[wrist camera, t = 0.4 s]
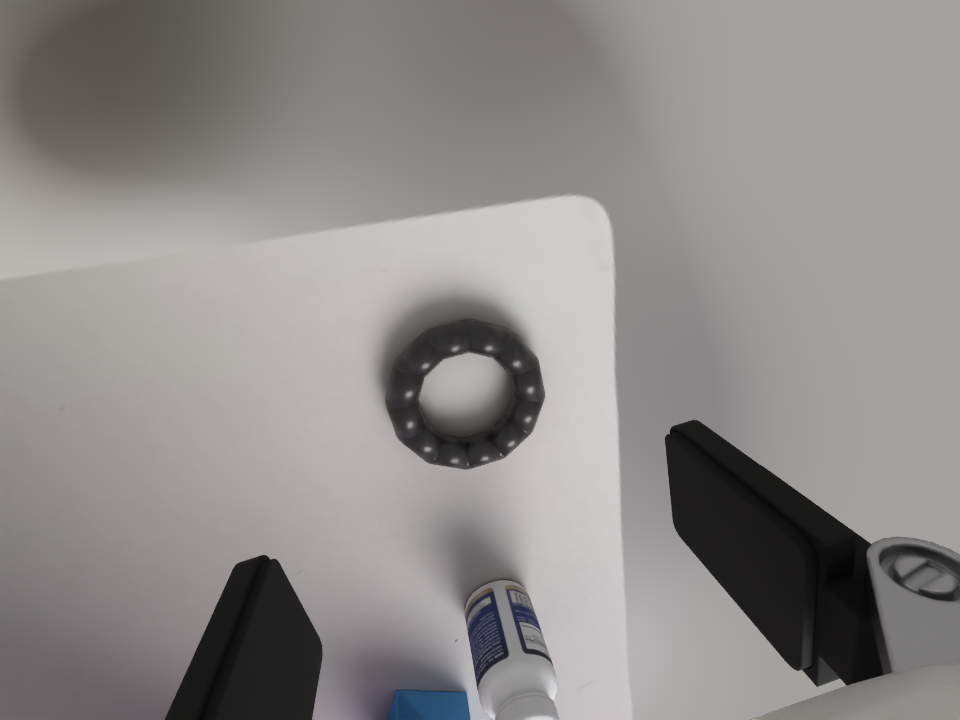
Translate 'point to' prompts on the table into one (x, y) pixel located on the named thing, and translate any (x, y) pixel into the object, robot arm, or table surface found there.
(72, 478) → the table surface
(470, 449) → the ring
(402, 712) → the perfume bottle
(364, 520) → the table surface
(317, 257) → the table surface
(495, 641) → the pill bottle
